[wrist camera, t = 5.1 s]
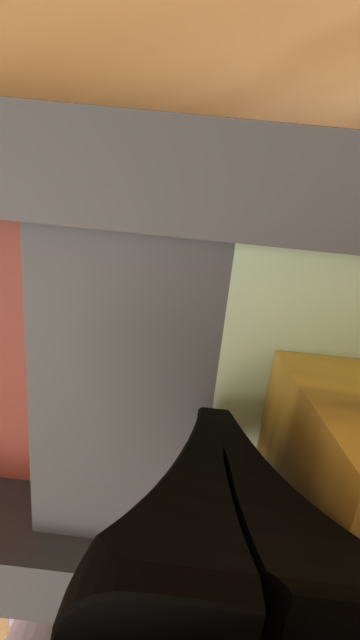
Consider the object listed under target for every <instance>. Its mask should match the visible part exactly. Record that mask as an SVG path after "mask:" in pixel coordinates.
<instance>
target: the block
mask: <svg viewBox="0 0 360 640" xmlns="http://www.w3.org/2000/svg"><path fill="white" fill-rule="evenodd" d="M257 450H258V451H259V452H260V453H261V455H262V456H263V457H264V458H265V459H266V460H267V461H268V463H269V464H270V465H271V466H272V467H273V468H274V469H275V470H276V471H277V472H278V473H279V474H280V475H281V476H282V477H283V478H284V479H285V480H286V481H287V482H288V483H289V484H290V485H291V486H292V487H293V488H294V489H295V490H297V491H298V492H299V493H300V494H301V495H302V496H303V497H305V498H306V499H307V500H308V501H309V502H311V503H312V504H313V505H314V506H316V507H317V508H318V509H319V510H321V511H322V512H323V513H324V514H326V515H327V516H328V517H330V518H331V519H332V520H334V521H335V522H336V523H338V524H339V525H340V526H342V527H343V528H345V529H346V530H348V531H349V532H351V533H352V534H354V535H355V536H356V537H358V538H359V539H360V359H356V358H346V357H336V356H326V355H316V354H306V353H297V352H287V351H277V350H275V354H274V359H273V365H272V370H271V375H270V380H269V386H268V391H267V396H266V402H265V407H264V412H263V417H262V423H261V428H260V433H259V439H258V444H257Z"/></svg>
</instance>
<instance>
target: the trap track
mask: <svg viewBox="0 0 360 640" xmlns="http://www.w3.org/2000/svg"><path fill="white" fill-rule="evenodd" d="M275 350H277V351H287V352H297V353H306V354H316V355H326V356H336V357H346V358H356V359H360V129H349V128H338V127H327V126H316V125H306V124H295V123H284V122H273V121H262V120H252V119H241V118H230V117H219V116H208V115H198V114H187V113H176V112H165V111H154V110H144V109H133V108H122V107H111V106H100V105H90V104H79V103H68V102H57V101H46V100H36V99H25V98H14V97H3V96H0V618H8V619H16V620H24V621H32V622H40V623H48V624H54V621H55V618H56V616H57V613H58V610H59V607H60V605H61V602H62V599H63V596H64V594H65V591H66V589H67V587H68V585H69V583H70V580H71V578H72V576H73V574H74V572H75V570H76V568H77V566H78V565H79V563H80V561H81V559H82V558H83V556H84V554H85V552H86V551H87V549H88V547H89V546H90V544H91V543H92V541H93V539H94V538H95V536H96V535H98V534H99V533H100V532H102V531H103V530H105V529H106V528H107V527H109V526H110V525H111V524H113V523H114V522H115V521H117V520H118V519H119V518H121V517H122V516H123V515H124V514H126V513H127V512H128V511H129V510H130V509H131V508H132V507H134V506H135V505H136V504H137V503H138V502H139V501H140V500H141V499H142V498H143V497H145V496H146V495H147V494H148V493H149V492H150V491H151V490H152V488H153V487H154V486H155V485H156V484H157V483H158V482H159V481H160V479H161V478H162V477H163V476H164V475H165V474H166V472H167V471H168V470H169V468H170V467H171V466H172V464H173V463H174V462H175V460H176V459H177V457H178V456H179V454H180V452H181V451H182V449H183V447H184V446H185V444H186V442H187V441H188V439H189V437H190V435H191V432H192V430H193V428H194V426H195V423H196V420H197V414H198V409H200V408H201V407H207V408H216V409H225V410H229V411H230V413H231V414H232V415H233V417H234V418H235V420H236V421H237V423H238V424H239V426H240V427H241V429H242V430H243V431H244V433H245V434H246V435H247V437H248V438H249V440H250V441H251V442H252V443H253V445H254V446H255V447H256V449H257V444H258V439H259V433H260V428H261V423H262V417H263V412H264V407H265V402H266V396H267V391H268V386H269V380H270V375H271V370H272V365H273V359H274V354H275Z"/></svg>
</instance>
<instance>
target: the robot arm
mask: <svg viewBox="0 0 360 640" xmlns="http://www.w3.org/2000/svg"><path fill="white" fill-rule="evenodd" d="M5 640H360V539H359V538H358V537H356V536H355V535H354V534H352V533H351V532H349V531H348V530H346V529H345V528H343V527H342V526H340V525H339V524H338V523H336V522H335V521H334V520H332V519H331V518H330V517H328V516H327V515H326V514H324V513H323V512H322V511H321V510H319V509H318V508H317V507H316V506H314V505H313V504H312V503H311V502H309V501H308V500H307V499H306V498H305V497H303V496H302V495H301V494H300V493H299V492H298V491H297V490H295V489H294V488H293V487H292V486H291V485H290V484H289V483H288V482H287V481H286V480H285V479H284V478H283V477H282V476H281V475H280V474H279V473H278V472H277V471H276V470H275V469H274V468H273V467H272V466H271V465H270V464H269V463H268V461H267V460H266V459H265V458H264V457H263V456H262V455H261V453H260V452H259V451H258V450H257V449H256V447H255V446H254V445H253V443H252V442H251V441H250V440H249V438H248V437H247V435H246V434H245V433H244V431H243V430H242V429H241V427H240V426H239V424H238V423H237V421H236V420H235V418H234V417H233V415H232V414H231V413H230V411H229V410H225V409H216V408H207V407H201V408H200V409H198V414H197V420H196V423H195V426H194V428H193V430H192V432H191V435H190V437H189V439H188V441H187V442H186V444H185V446H184V447H183V449H182V451H181V452H180V454H179V456H178V457H177V459H176V460H175V462H174V463H173V464H172V466H171V467H170V468H169V470H168V471H167V472H166V474H165V475H164V476H163V477H162V478H161V479H160V481H159V482H158V483H157V484H156V485H155V486H154V487H153V488H152V490H151V491H150V492H149V493H148V494H147V495H146V496H145V497H143V498H142V499H141V500H140V501H139V502H138V503H137V504H136V505H135V506H134V507H132V508H131V509H130V510H129V511H128V512H127V513H126V514H124V515H123V516H122V517H121V518H119V519H118V520H117V521H115V522H114V523H113V524H111V525H110V526H109V527H107V528H106V529H105V530H103V531H102V532H100V533H99V534H98V535H96V536H95V538H94V539H93V541H92V543H91V544H90V546H89V547H88V549H87V551H86V552H85V554H84V556H83V558H82V559H81V561H80V563H79V565H78V566H77V568H76V570H75V572H74V574H73V576H72V578H71V580H70V583H69V585H68V587H67V589H66V591H65V594H64V596H63V599H62V602H61V605H60V607H59V610H58V613H57V616H56V618H55V621H54V624H48V623H40V622H32V621H24V620H16V619H9V631H8V633H7V636H6V638H5Z"/></svg>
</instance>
